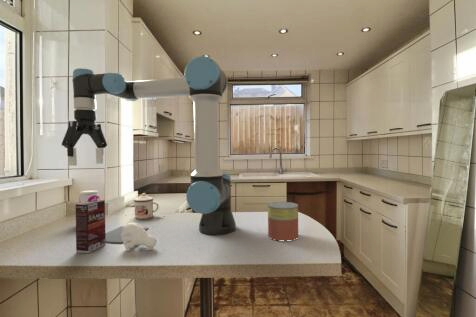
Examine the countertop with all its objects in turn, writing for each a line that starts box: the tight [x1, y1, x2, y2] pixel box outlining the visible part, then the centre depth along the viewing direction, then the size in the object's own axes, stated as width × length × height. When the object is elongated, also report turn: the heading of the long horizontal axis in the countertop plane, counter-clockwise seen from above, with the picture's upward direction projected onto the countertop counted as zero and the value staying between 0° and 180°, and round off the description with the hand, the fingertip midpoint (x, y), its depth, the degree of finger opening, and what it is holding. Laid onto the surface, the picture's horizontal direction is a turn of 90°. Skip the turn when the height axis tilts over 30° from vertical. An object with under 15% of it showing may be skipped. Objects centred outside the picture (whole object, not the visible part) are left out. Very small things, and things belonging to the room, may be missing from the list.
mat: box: [105, 225, 149, 245], centre depth 105 cm, size 13×18×1 cm
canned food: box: [267, 201, 299, 241], centre depth 100 cm, size 11×11×12 cm
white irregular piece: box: [121, 222, 157, 252], centre depth 90 cm, size 6×8×12 cm
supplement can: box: [78, 189, 101, 204], centre depth 122 cm, size 8×8×15 cm
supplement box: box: [75, 199, 107, 254], centre depth 91 cm, size 9×5×16 cm, turn 168°
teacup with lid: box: [133, 192, 160, 220], centre depth 134 cm, size 12×9×12 cm
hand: (87, 164), depth 105 cm, fingers open, 13 cm apart
